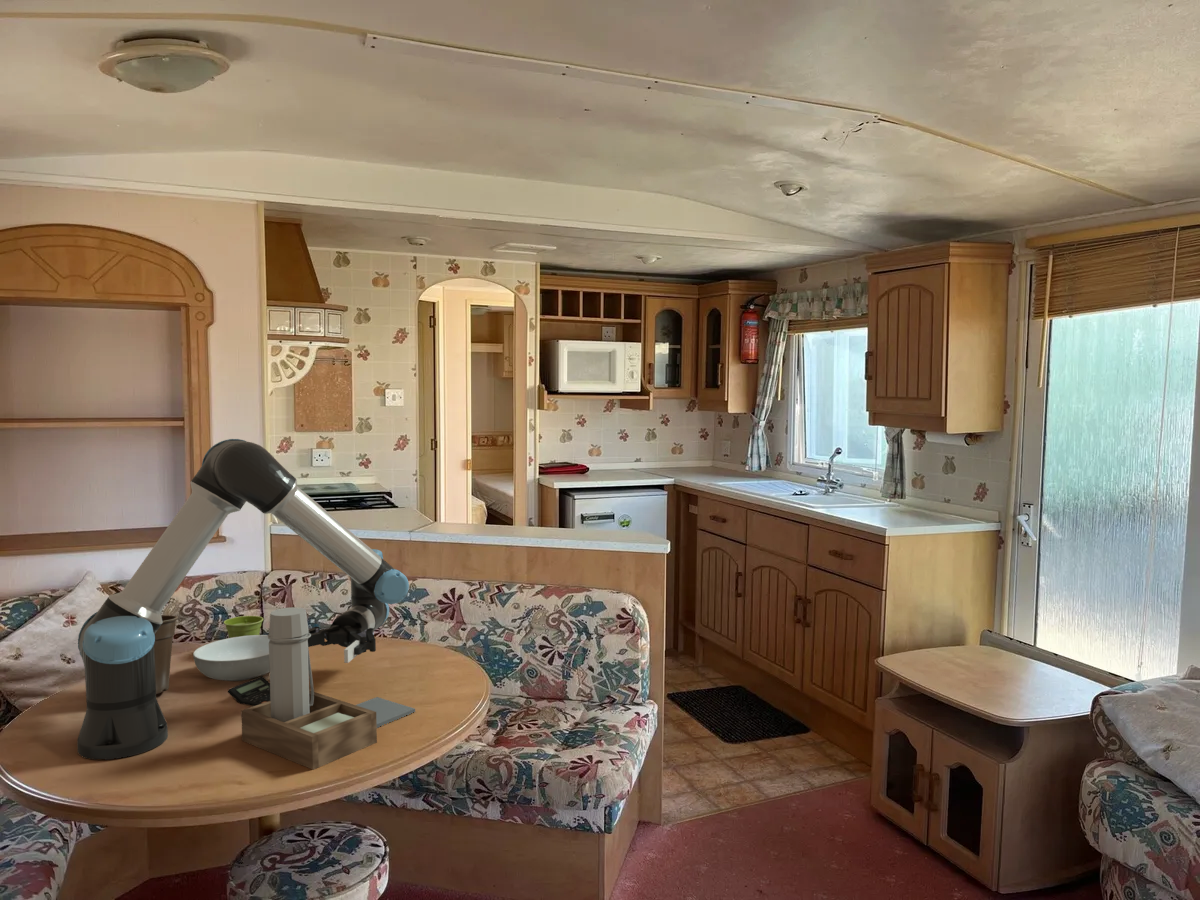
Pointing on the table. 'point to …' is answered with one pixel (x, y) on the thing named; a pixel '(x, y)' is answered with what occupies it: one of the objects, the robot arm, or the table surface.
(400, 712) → the slate mat
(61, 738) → the table surface
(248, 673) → the serving bowl
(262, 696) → the calculator
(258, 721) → the walnut divided tray
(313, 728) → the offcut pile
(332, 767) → the table surface
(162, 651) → the plant pot
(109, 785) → the table surface
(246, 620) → the plant pot
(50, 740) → the table surface
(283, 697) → the water bottle
